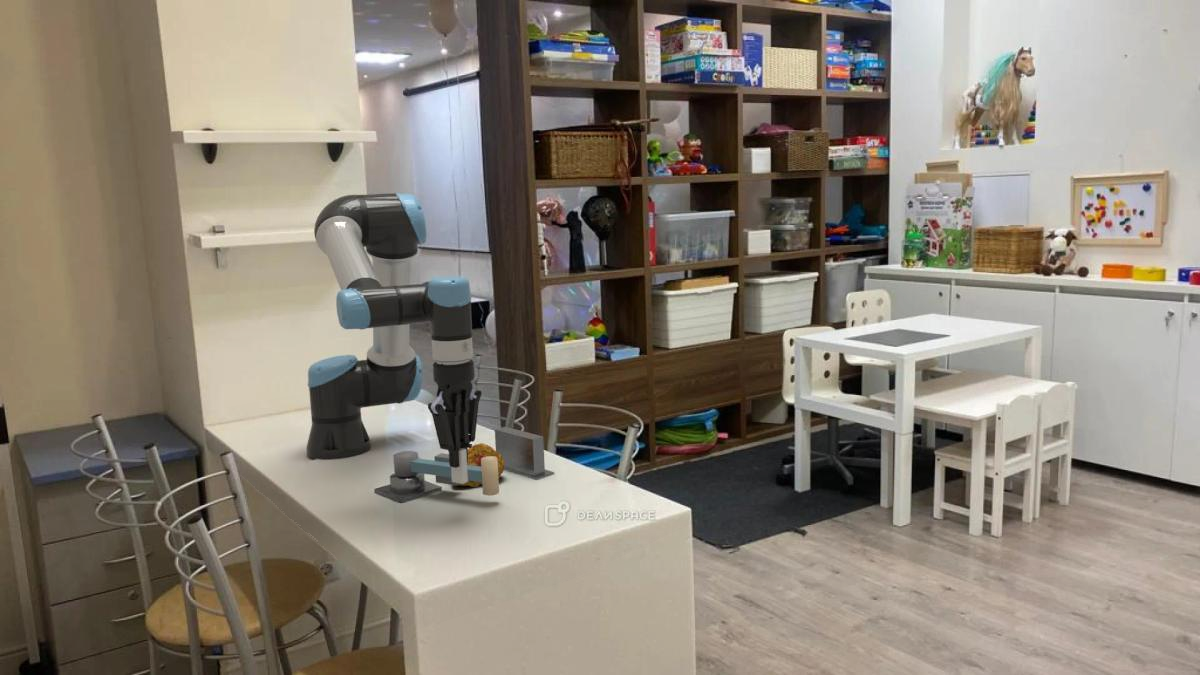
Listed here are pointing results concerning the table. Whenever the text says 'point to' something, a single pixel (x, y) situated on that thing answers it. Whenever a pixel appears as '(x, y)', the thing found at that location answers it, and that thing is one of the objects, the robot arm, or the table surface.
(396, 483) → the frame
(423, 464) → the lever
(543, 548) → the table surface
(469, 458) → the golden brown lumpy piece
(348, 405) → the robot arm
